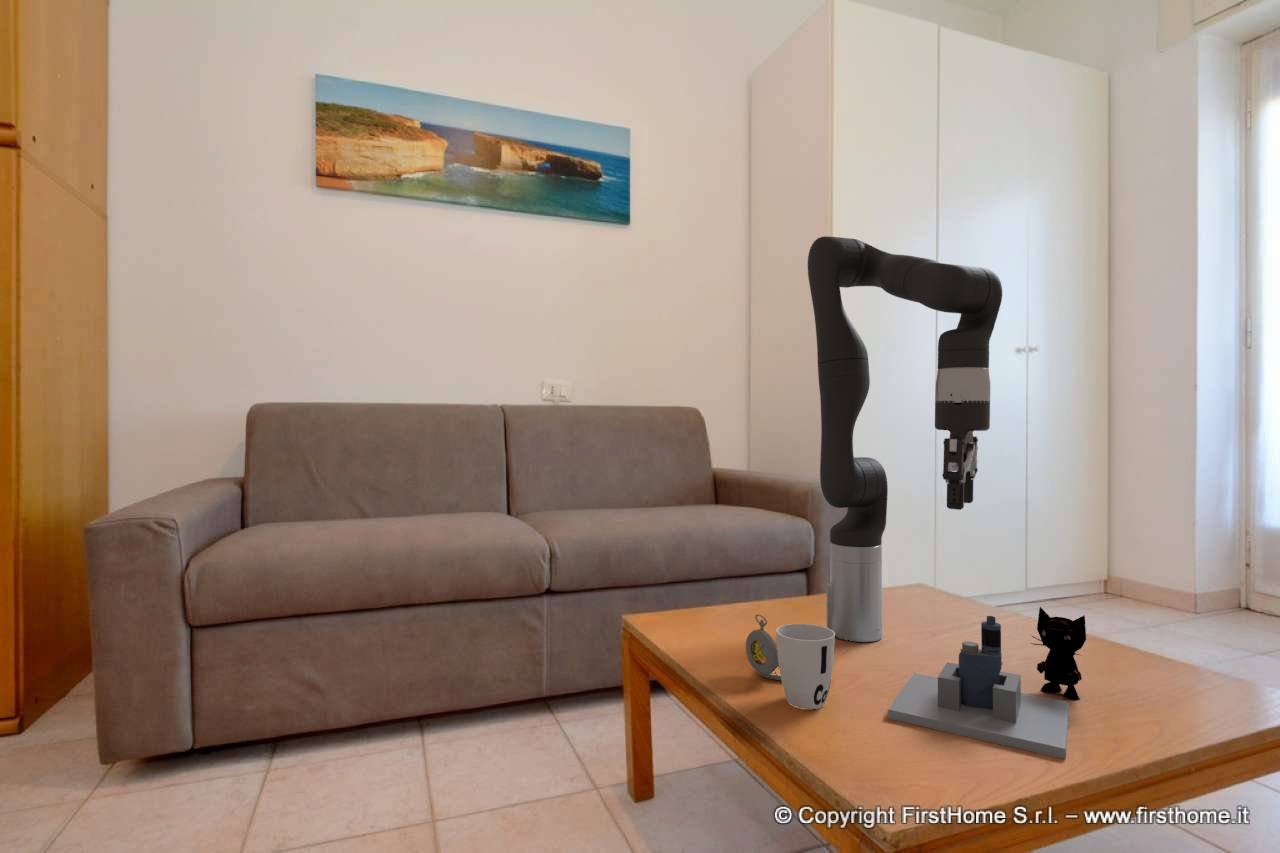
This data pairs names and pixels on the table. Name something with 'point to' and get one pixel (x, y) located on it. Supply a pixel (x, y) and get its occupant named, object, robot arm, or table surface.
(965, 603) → the table surface
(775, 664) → the pocket watch
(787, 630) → the cup
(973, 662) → the vaping device
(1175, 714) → the table surface
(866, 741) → the table surface
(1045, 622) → the cat figurine
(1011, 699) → the dock
